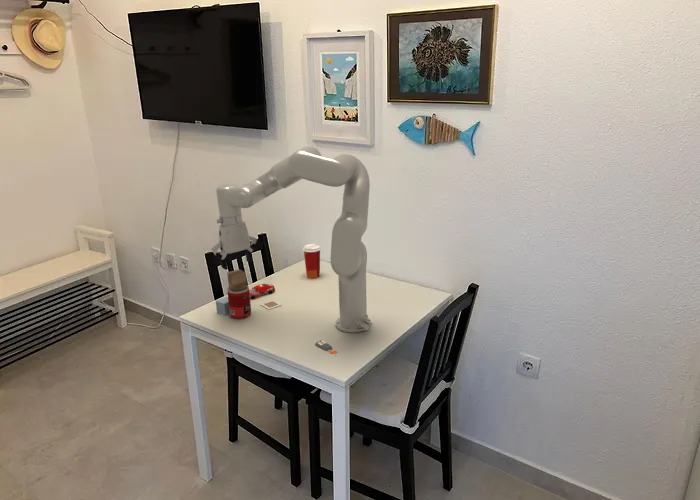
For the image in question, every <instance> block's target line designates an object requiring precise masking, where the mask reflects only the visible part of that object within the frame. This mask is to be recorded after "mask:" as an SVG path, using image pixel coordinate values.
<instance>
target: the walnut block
mask: <svg viewBox="0 0 700 500" xmlns="http://www.w3.org/2000/svg"><path fill="white" fill-rule="evenodd" d="M226 273H227V284H228V287H229V288H230V289H232V290H233V291H235V292H236V291H239V290H243V289H246V288H247V286H248V281H247V280H248V279H247V273H246V272H245V271H243V270H241V269H237V270H232V271H228V272H226Z"/></svg>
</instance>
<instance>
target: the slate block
mask: <svg viewBox="0 0 700 500" xmlns="http://www.w3.org/2000/svg"><path fill="white" fill-rule="evenodd" d="M215 307H216V313H217V314H220V315H222V316H225V317H227V316H229V315H230V310H229V302H228V295H227V296H224V297H222V298H221V297H220V298H219V299H217V300H215Z"/></svg>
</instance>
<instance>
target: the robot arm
mask: <svg viewBox="0 0 700 500" xmlns="http://www.w3.org/2000/svg"><path fill="white" fill-rule="evenodd" d="M369 175H370V174H369V172H368V170H367V168H366V166H365V164H364V163H363V162H362V161H361V160H360V159H359V158H357V157H356V156H354V155H351V154H347V153H343V154H339V155H337V156H335V157H334V158H329V157H325V156H322V153H321V152H320V150H318V149H317V148H316V147H314V146H305V147H302V148H300V149H298V150H296V151H294V152H293V153H292V154H291V155H289V156H288V157H286V158H284V159H282V160H280V161H279V162H277V163H275V164H274V165H272V166H271V169H269V170H268V171H266V172H265V173H263V174H262V175H260V176H258V177H257V178H255V179H253V180H251V181H249V182H247V183H245V184H243V185H241V186H238V185H236V184H233V183H225V184H221V185H219V186H217V187H216V190H215V191H216V197H217V198H216V199H217V205H218V211H219V212H218V213H219V218H218V219H216V224H219V226H218V227H219V228H218V243H216V244H214V246H213V247H212V248H211V249H210V250H211V251H212V253H213V254H214V256H215V257H217V258H218V259H219V262H220V267H221V268H222V269H223V270H225V271H226V270H229V269H228V262H227V261H228V260H227V258H226V257H227V255H228V254H234V253H238V252H241V251H245V252H244V254H245V259H246V262H247V263H249V264H252V263H253V253H252V252H254V249H255V247H256V244H257V240H258V238H257V237H254V236H250V235H249V231H248V227H247V224H246V221H244V220H243V214H242V209H248V208H251V207H253V206H255V205H256V204H257V203H259V202H261V201H263V200H264V199H266V198H267V197H270V196H271V195H273V194H275V193H276V192H278V191H280V190H283V189H287V188H288V187H291V186H292V185H294V184H296V183H298V182H300V181H301V180H302V179H303V180H305V181H309V182H312V183H316V184H320V185H324V186H328V187H330V188H331V187H332V188H337V187H342V186H344V188H343V194H342V207H341V214H340V216H339V218H338V219H336V221H335V223H334V224H333V227H332V232H331V246H330V266H331V268H332V271H333V272H334V273H335V274H336V275H338V302H339V304H338V305H339V306H338V307H339V317H338V318H337V319H336V321H335V327H336V328H337V329H338V330H340V331H341V332H344V333H361V332H364V331H368V330H369V329H370V328H371V327H372V326H373V323H372V320H371V318H369V315H368V314H367V313H368V310H367V309H368V308H367V263H368V251H367V248H366V247H367V246H366V245H365V243H363V241H362V237H363V236H364V234H365V232H366V231H367V230H368V229H367V228H368V220H369V219H368V216H369V202H370V187H371V186H370V185H371V184H370V176H369ZM219 249H220V253H219V251H218V250H219Z"/></svg>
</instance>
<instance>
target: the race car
mask: <svg viewBox="0 0 700 500" xmlns="http://www.w3.org/2000/svg"><path fill="white" fill-rule="evenodd" d="M249 292H250V300H251V301H252V300H255V299H258V298H261V297H264V296H267V295H272V294H273V293H275V292H276V287H275V286H274V284H272V283H260V284H256V285H255V286H253V287H251V289H250V288H249Z"/></svg>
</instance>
